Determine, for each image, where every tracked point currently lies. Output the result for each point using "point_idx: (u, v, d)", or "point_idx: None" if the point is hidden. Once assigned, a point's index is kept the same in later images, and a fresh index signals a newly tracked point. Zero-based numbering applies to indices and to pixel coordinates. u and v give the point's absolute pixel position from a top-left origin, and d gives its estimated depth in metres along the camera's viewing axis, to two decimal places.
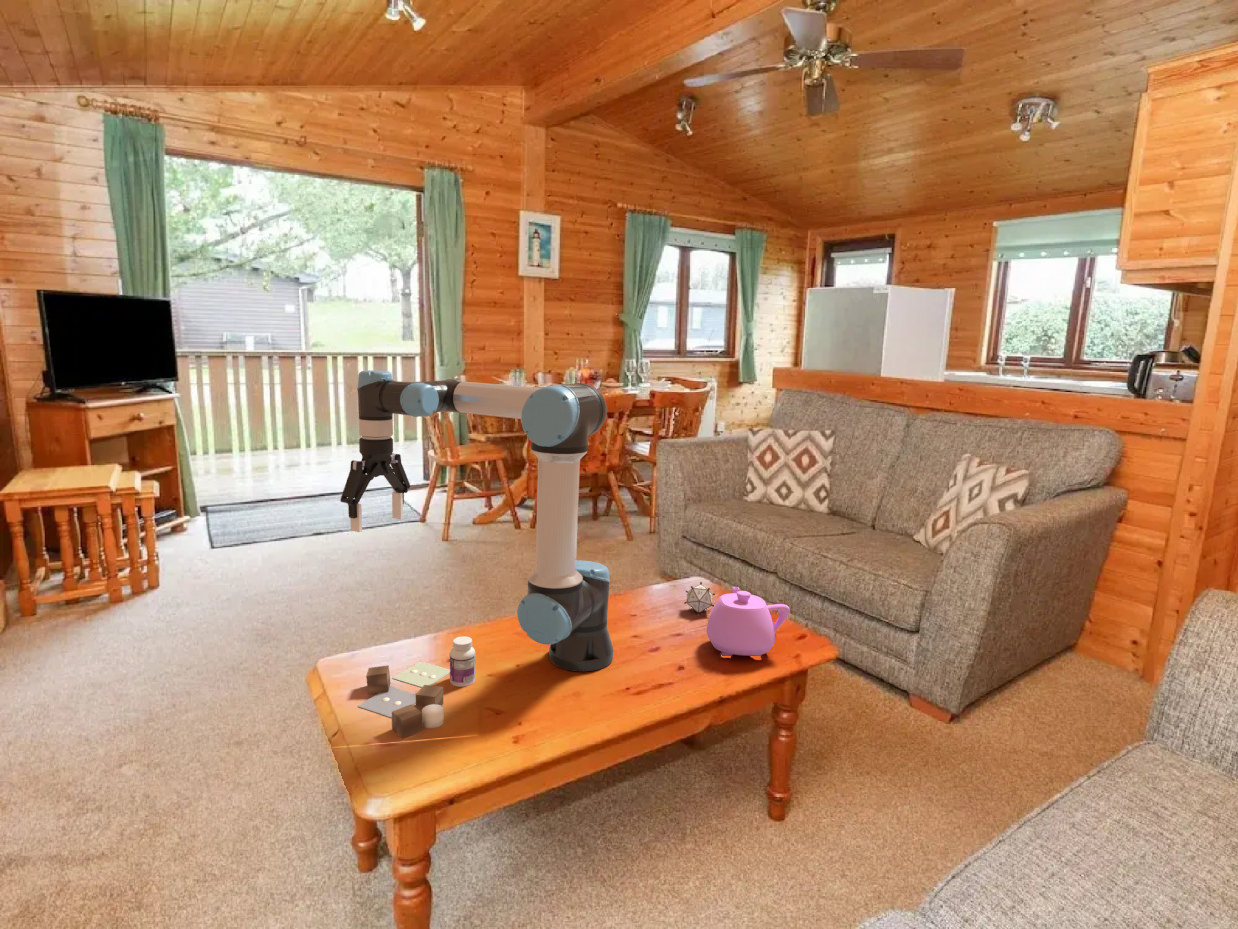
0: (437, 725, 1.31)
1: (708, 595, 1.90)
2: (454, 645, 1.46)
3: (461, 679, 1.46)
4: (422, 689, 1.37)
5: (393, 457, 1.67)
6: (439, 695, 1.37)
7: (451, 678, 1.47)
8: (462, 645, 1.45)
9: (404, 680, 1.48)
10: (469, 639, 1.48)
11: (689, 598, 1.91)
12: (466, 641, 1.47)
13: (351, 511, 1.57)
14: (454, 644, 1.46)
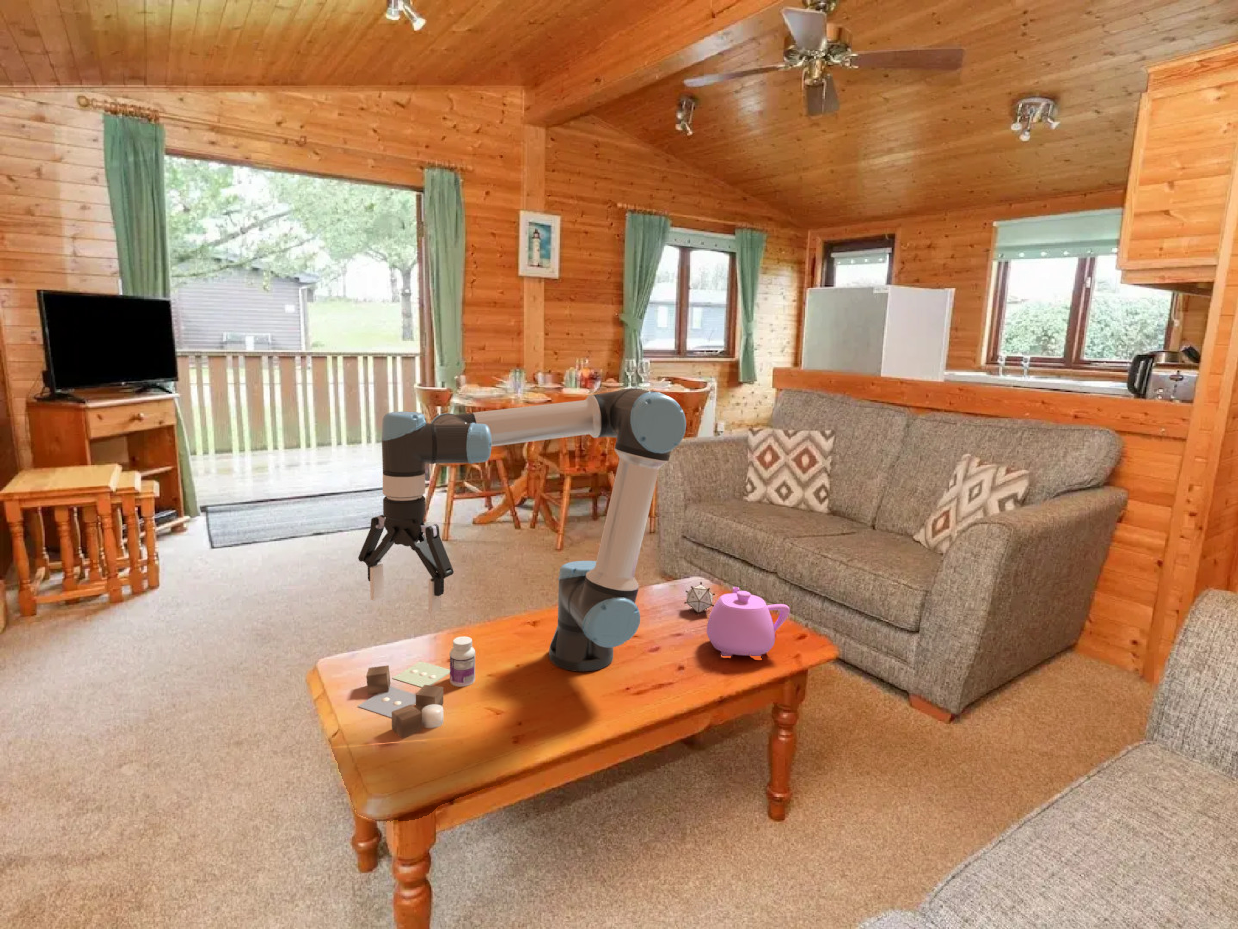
0: (437, 725, 1.31)
1: (708, 595, 1.90)
2: (454, 645, 1.46)
3: (461, 679, 1.46)
4: (422, 689, 1.37)
5: (425, 529, 1.26)
6: (439, 695, 1.37)
7: (451, 678, 1.47)
8: (462, 645, 1.45)
9: (404, 680, 1.48)
10: (469, 639, 1.48)
11: (689, 598, 1.91)
12: (466, 641, 1.47)
13: None
14: (454, 644, 1.46)
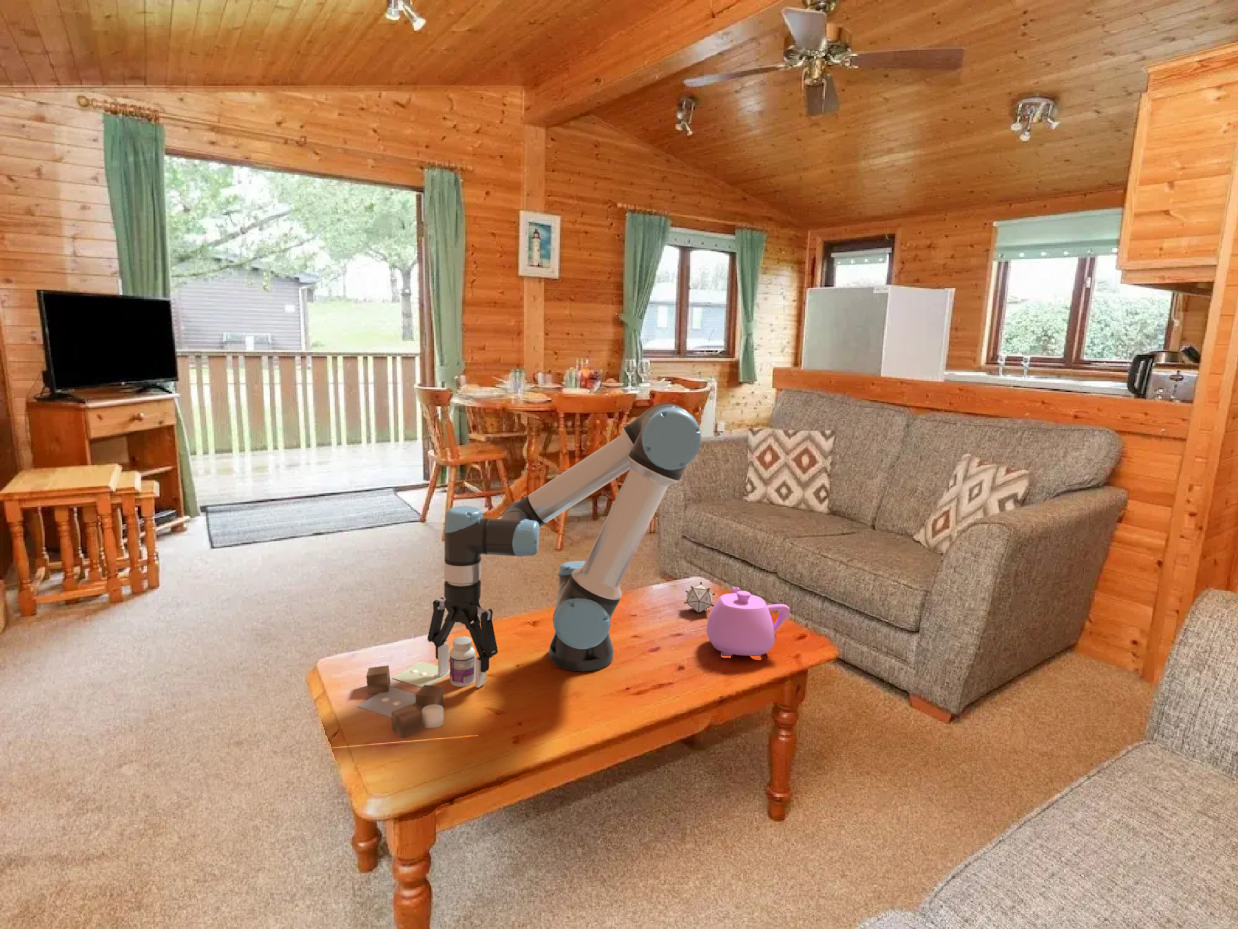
0: (437, 725, 1.31)
1: (708, 595, 1.90)
2: (454, 645, 1.46)
3: (461, 679, 1.46)
4: (422, 689, 1.37)
5: (481, 612, 1.43)
6: (439, 695, 1.37)
7: (451, 678, 1.47)
8: (462, 645, 1.45)
9: (404, 680, 1.48)
10: (469, 639, 1.48)
11: (689, 598, 1.91)
12: (466, 641, 1.47)
13: None
14: (454, 644, 1.46)
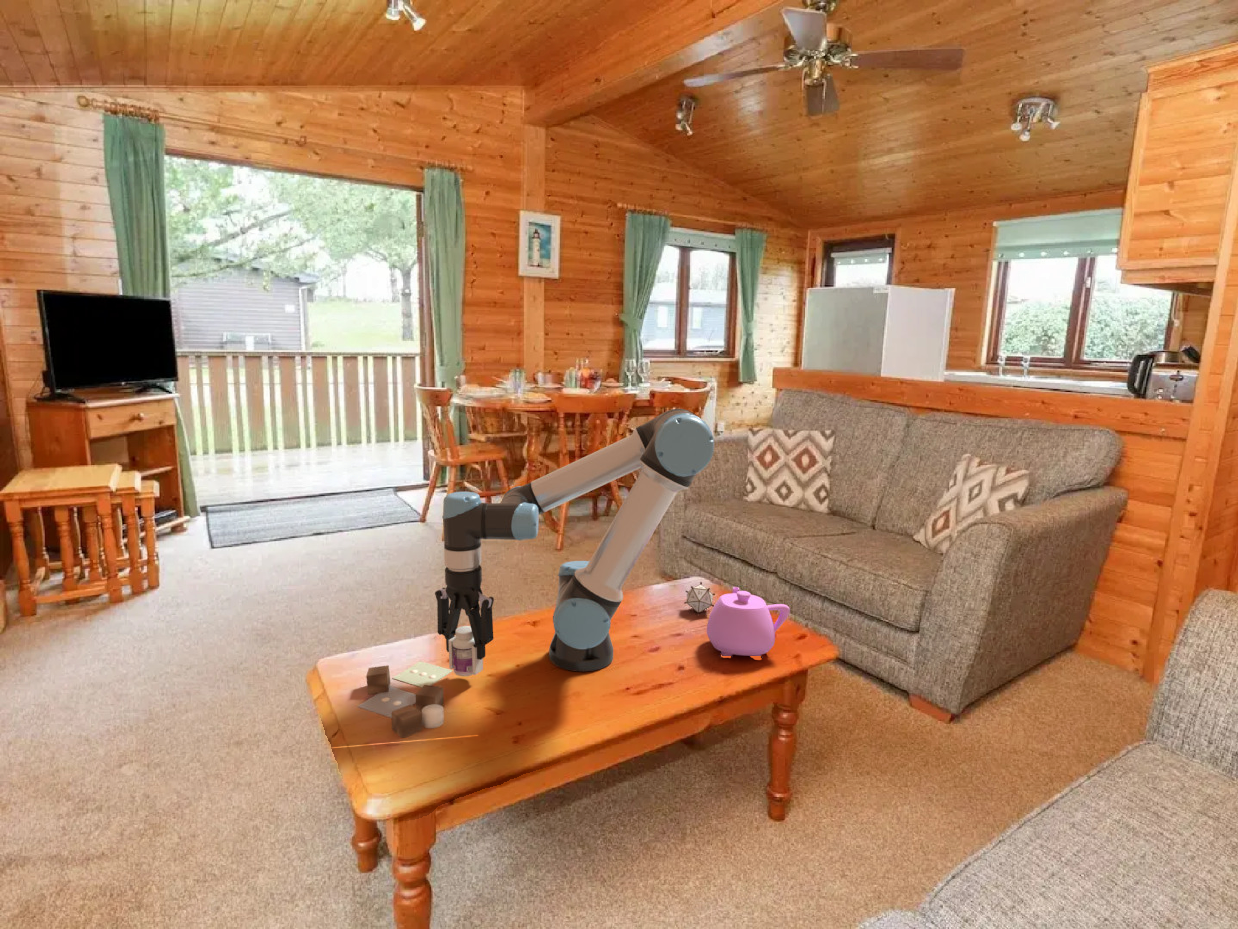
0: (437, 725, 1.31)
1: (708, 595, 1.90)
2: (456, 634, 1.46)
3: (464, 669, 1.46)
4: (422, 689, 1.37)
5: (482, 599, 1.43)
6: (439, 695, 1.37)
7: (454, 667, 1.47)
8: (464, 634, 1.45)
9: (404, 680, 1.48)
10: None
11: (689, 598, 1.91)
12: (469, 630, 1.46)
13: None
14: (456, 633, 1.46)
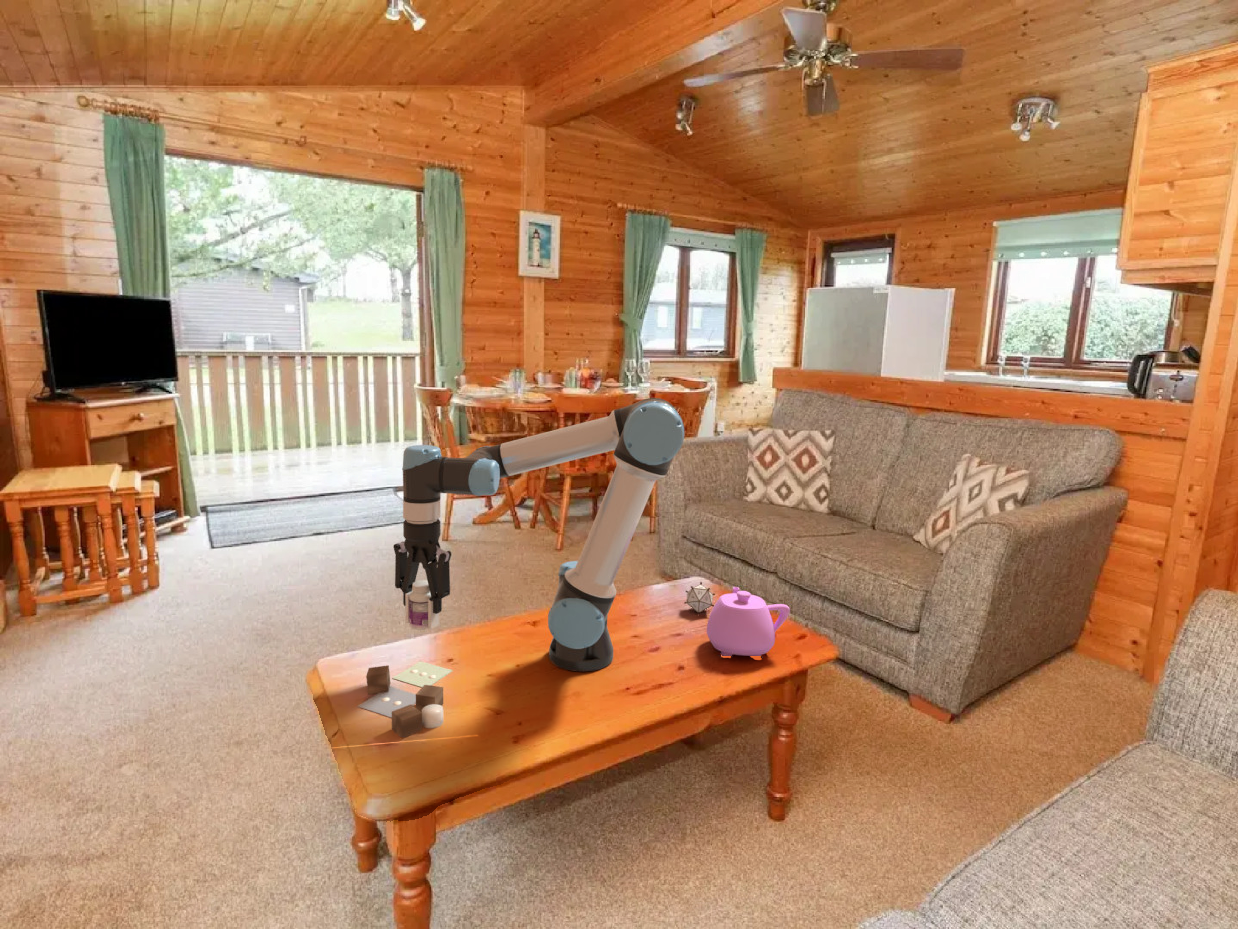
0: (437, 725, 1.31)
1: (708, 595, 1.90)
2: (413, 588, 1.46)
3: (420, 622, 1.46)
4: (422, 689, 1.37)
5: (440, 553, 1.43)
6: (439, 695, 1.37)
7: (410, 621, 1.47)
8: (421, 587, 1.45)
9: (404, 680, 1.48)
10: None
11: (689, 598, 1.91)
12: (426, 584, 1.46)
13: None
14: (413, 587, 1.46)
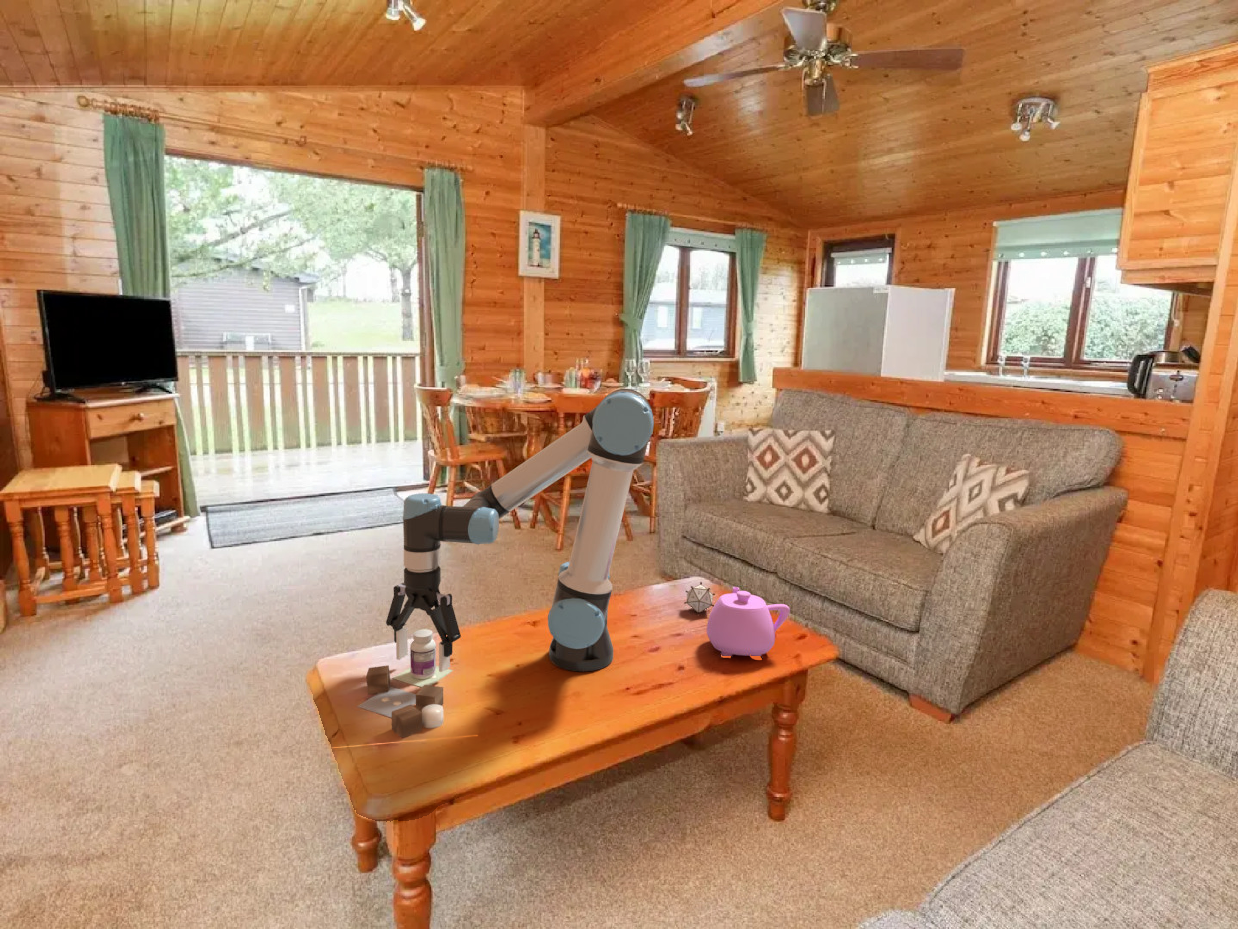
0: (437, 725, 1.31)
1: (708, 595, 1.90)
2: (414, 637, 1.48)
3: (421, 672, 1.48)
4: (422, 689, 1.37)
5: (440, 598, 1.45)
6: (439, 695, 1.37)
7: (411, 670, 1.49)
8: (422, 637, 1.47)
9: (404, 680, 1.48)
10: (429, 632, 1.49)
11: (689, 598, 1.91)
12: (426, 634, 1.48)
13: None
14: (414, 636, 1.48)
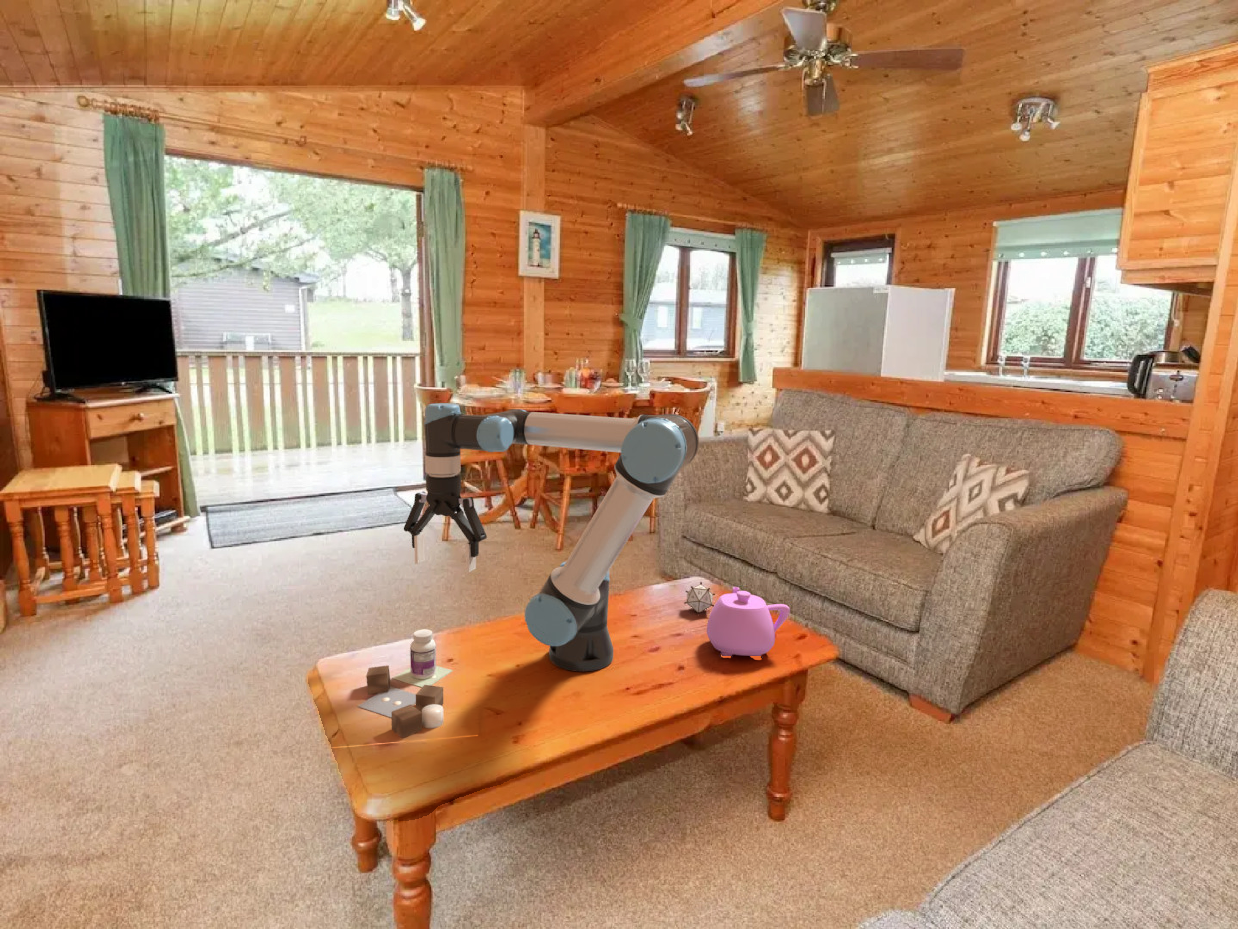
0: (437, 725, 1.31)
1: (708, 595, 1.90)
2: (414, 638, 1.48)
3: (421, 672, 1.48)
4: (422, 689, 1.37)
5: (462, 501, 1.51)
6: (439, 695, 1.37)
7: (411, 670, 1.49)
8: (422, 637, 1.47)
9: (404, 680, 1.48)
10: (429, 632, 1.49)
11: (689, 598, 1.91)
12: (426, 634, 1.48)
13: None
14: (414, 637, 1.48)
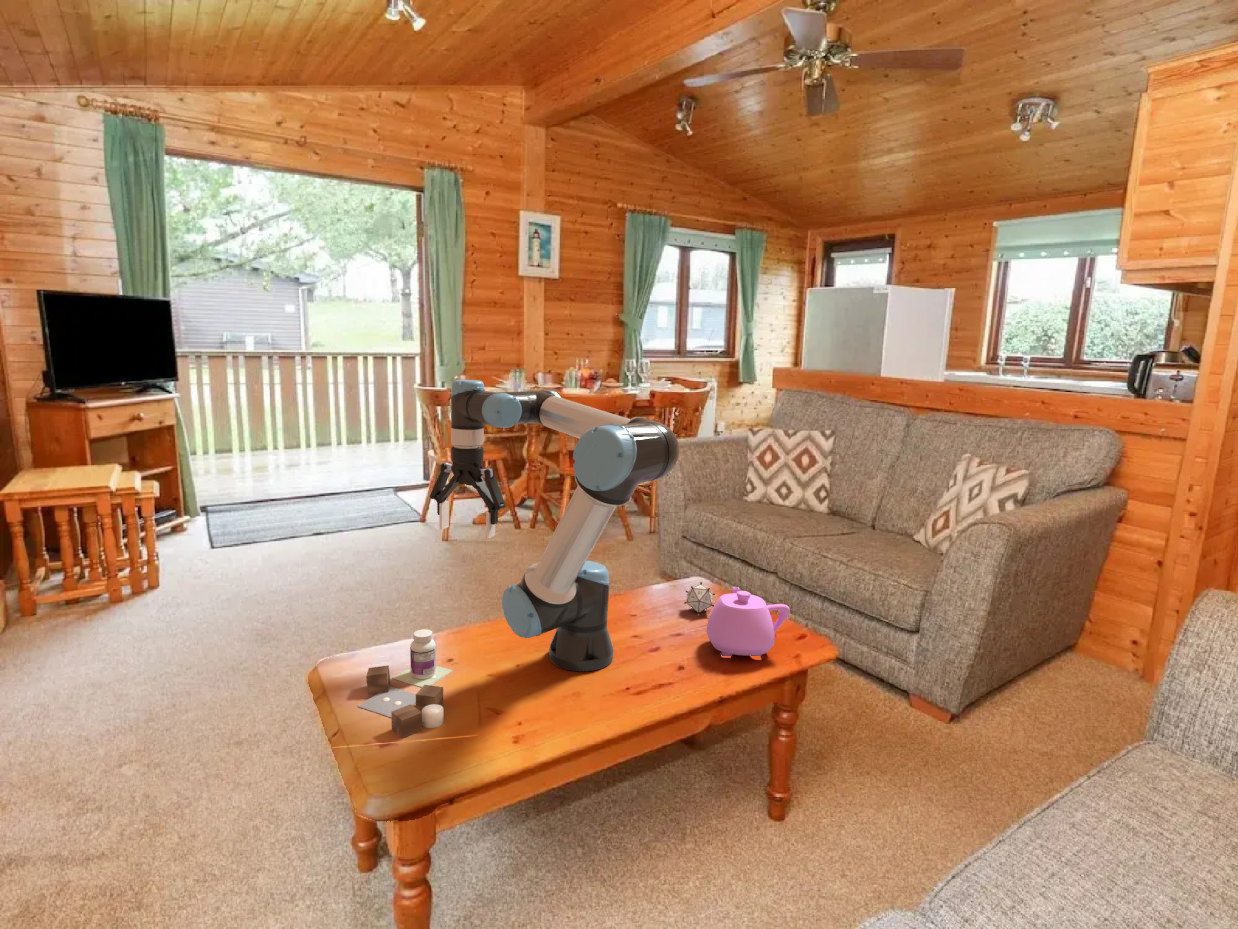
0: (437, 725, 1.31)
1: (708, 595, 1.90)
2: (414, 638, 1.48)
3: (421, 672, 1.48)
4: (422, 689, 1.37)
5: None
6: (439, 695, 1.37)
7: (411, 670, 1.49)
8: (422, 637, 1.47)
9: (404, 680, 1.48)
10: (429, 632, 1.49)
11: (689, 598, 1.91)
12: (426, 634, 1.48)
13: None
14: (414, 637, 1.48)
